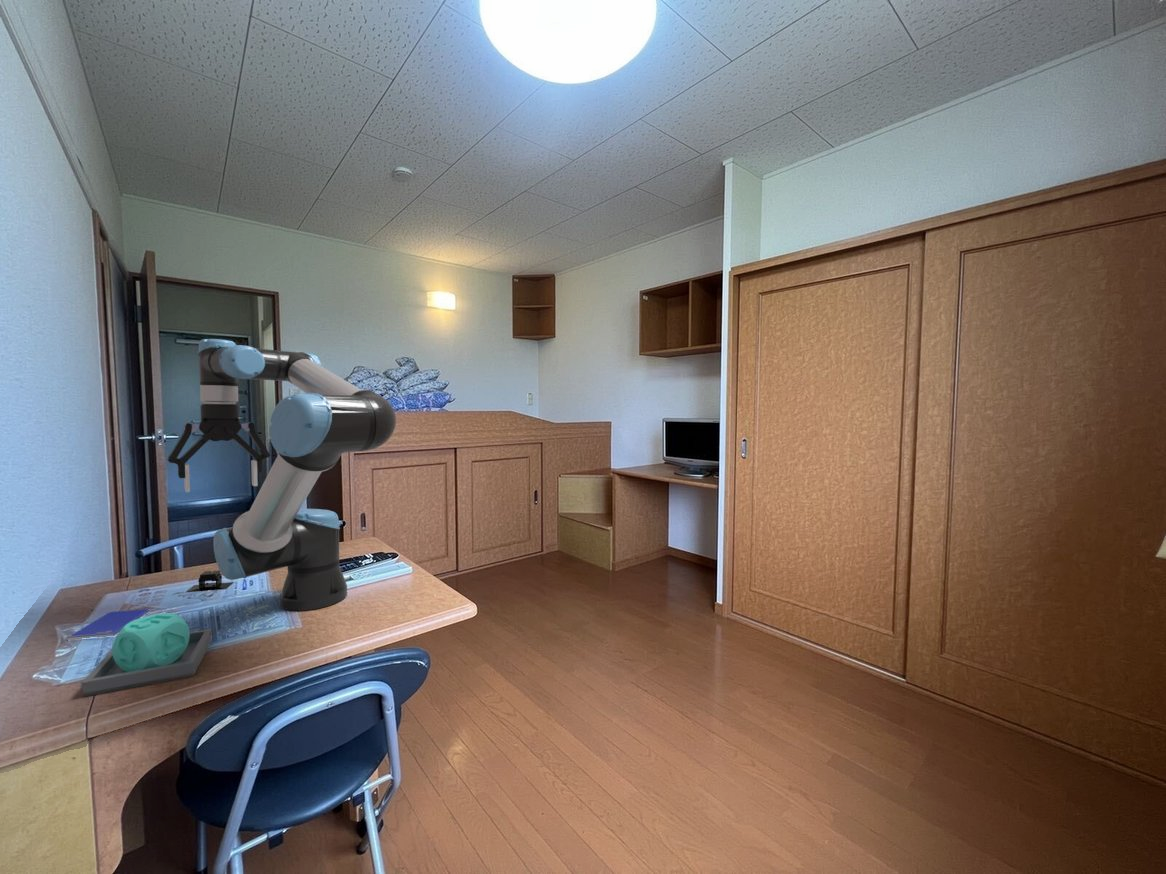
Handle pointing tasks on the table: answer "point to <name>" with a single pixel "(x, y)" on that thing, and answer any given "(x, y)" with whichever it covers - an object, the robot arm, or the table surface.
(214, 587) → the black boxy piece
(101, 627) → the purple flat rectangle
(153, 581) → the table surface
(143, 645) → the decorative dice
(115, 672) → the tray
